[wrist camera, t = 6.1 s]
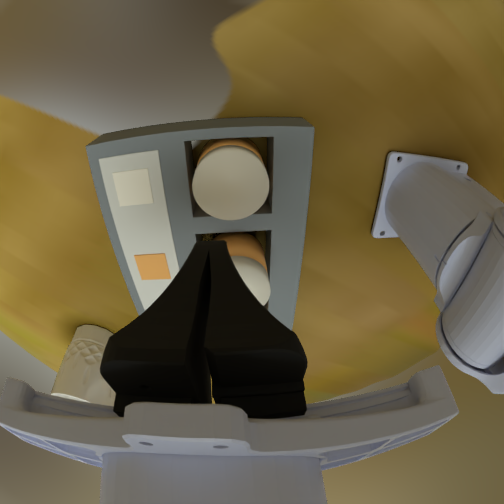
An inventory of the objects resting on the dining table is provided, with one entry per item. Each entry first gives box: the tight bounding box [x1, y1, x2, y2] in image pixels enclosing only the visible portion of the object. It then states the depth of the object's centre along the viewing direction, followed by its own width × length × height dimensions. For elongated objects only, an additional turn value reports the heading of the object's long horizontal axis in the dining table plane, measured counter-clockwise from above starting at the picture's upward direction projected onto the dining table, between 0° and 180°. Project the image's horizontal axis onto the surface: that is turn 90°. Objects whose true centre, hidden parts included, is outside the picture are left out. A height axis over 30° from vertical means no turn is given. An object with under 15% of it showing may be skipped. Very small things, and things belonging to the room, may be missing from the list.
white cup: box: [50, 325, 116, 406], centre depth 27 cm, size 8×8×10 cm
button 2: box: [212, 232, 271, 306], centre depth 20 cm, size 4×4×4 cm
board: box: [86, 117, 314, 330], centre depth 24 cm, size 14×26×3 cm, turn 0°
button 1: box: [192, 137, 269, 220], centre depth 18 cm, size 4×4×4 cm
